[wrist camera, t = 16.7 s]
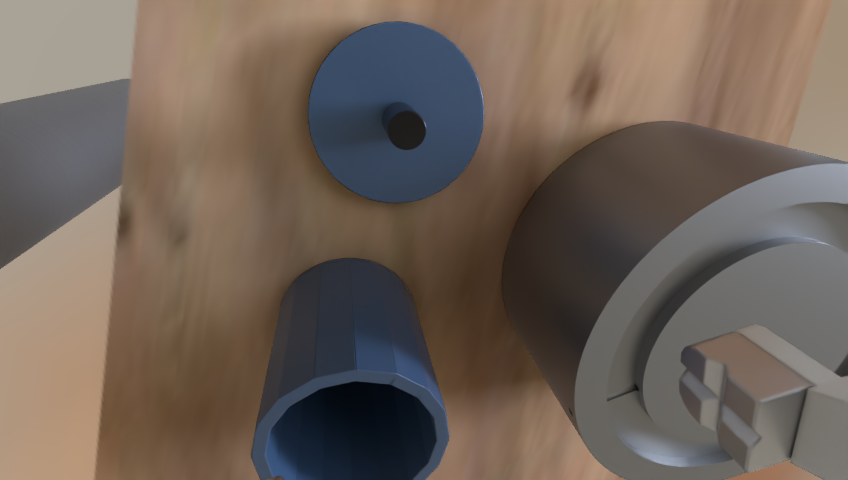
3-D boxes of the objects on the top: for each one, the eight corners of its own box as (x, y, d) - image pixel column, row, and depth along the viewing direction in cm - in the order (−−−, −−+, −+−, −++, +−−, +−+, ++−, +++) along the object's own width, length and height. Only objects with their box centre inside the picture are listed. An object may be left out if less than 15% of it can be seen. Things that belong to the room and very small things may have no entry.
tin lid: (328, 210, 34) (327, 238, 29) (289, 34, 29) (280, 33, 24) (483, 184, 35) (506, 207, 31) (474, 11, 30) (499, 7, 25)
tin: (297, 381, 40) (280, 531, 28) (263, 272, 35) (225, 397, 23) (420, 354, 41) (455, 488, 29) (404, 246, 36) (439, 352, 24)
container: (471, 183, 35) (541, 260, 23) (763, 77, 36) (978, 98, 24) (531, 402, 46) (600, 529, 34) (753, 317, 47) (896, 413, 35)
